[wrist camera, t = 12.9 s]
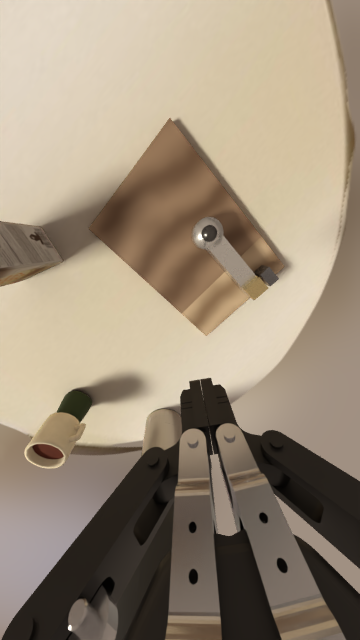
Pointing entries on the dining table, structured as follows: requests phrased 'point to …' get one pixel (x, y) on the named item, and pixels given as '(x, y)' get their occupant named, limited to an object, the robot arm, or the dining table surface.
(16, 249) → the coffee box
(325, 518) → the robot arm
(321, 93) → the dining table surface
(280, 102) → the dining table surface
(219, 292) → the door board
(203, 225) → the latch bar
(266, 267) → the block
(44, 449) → the character mug
